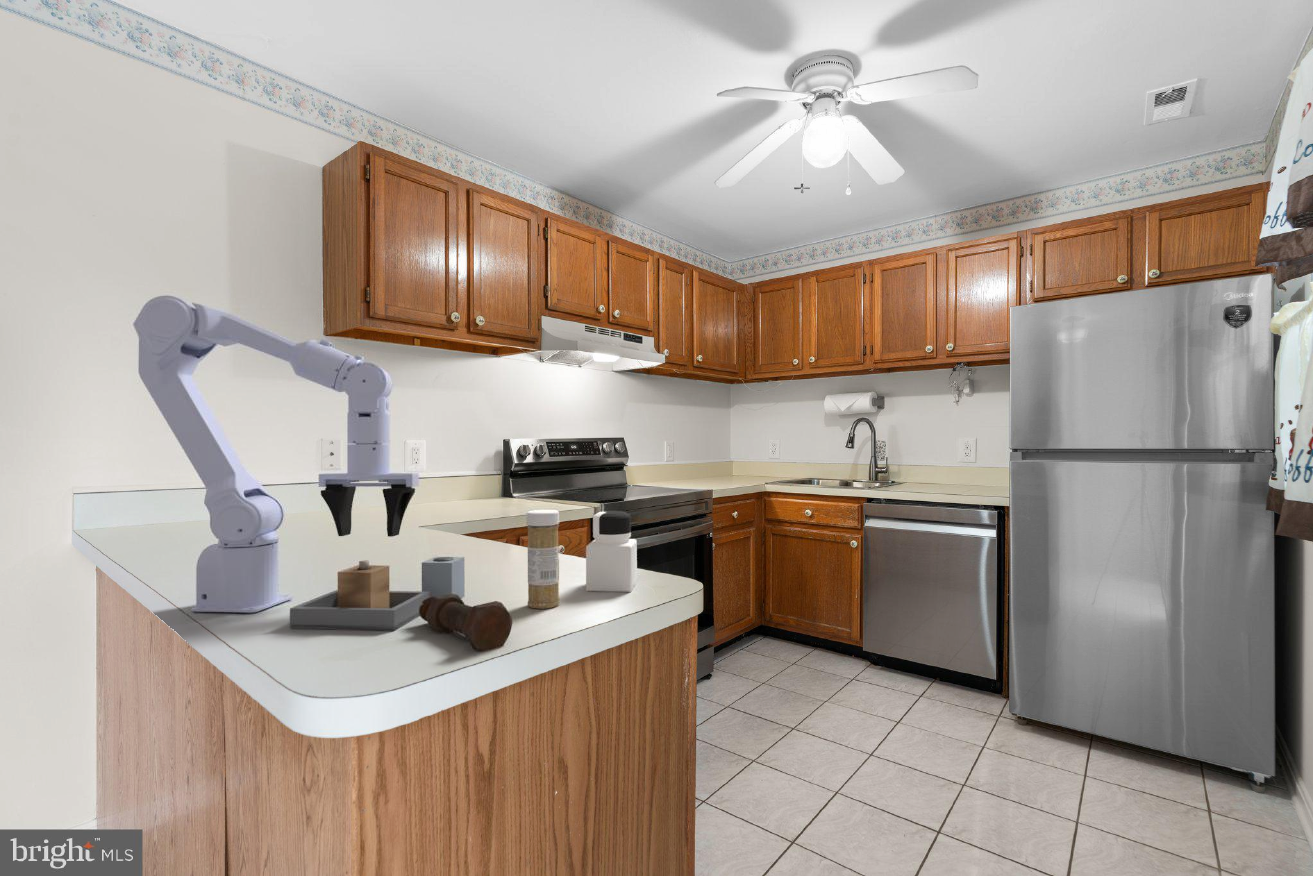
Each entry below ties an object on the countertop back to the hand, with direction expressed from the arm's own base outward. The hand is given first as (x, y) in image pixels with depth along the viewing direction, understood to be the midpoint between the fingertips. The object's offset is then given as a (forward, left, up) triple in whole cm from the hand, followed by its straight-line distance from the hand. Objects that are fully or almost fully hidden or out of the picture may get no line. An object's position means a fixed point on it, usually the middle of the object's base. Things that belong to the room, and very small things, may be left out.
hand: (368, 535), depth 91 cm
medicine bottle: (+35, +10, -10) cm, 38 cm away
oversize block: (+12, 0, -10) cm, 15 cm away
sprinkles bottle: (+27, -2, -10) cm, 29 cm away
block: (+5, -10, -9) cm, 14 cm away
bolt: (+20, -16, -10) cm, 28 cm away
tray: (+5, -10, -9) cm, 15 cm away
